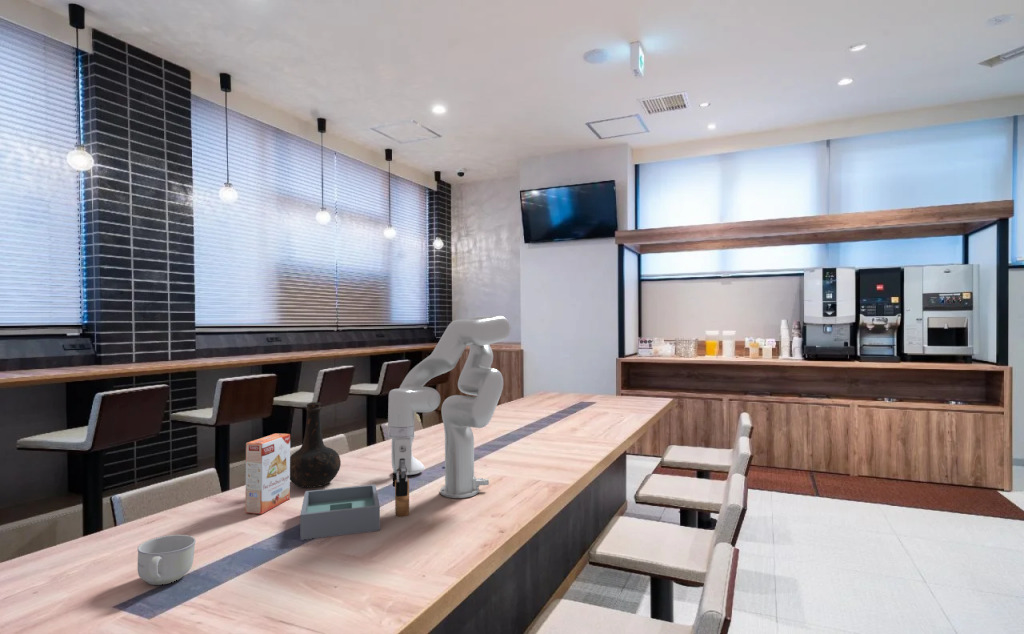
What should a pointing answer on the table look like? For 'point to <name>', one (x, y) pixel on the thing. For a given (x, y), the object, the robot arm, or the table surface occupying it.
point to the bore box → (339, 512)
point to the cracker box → (267, 473)
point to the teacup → (165, 558)
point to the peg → (402, 503)
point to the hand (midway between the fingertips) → (399, 490)
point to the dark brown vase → (313, 455)
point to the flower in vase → (415, 464)
